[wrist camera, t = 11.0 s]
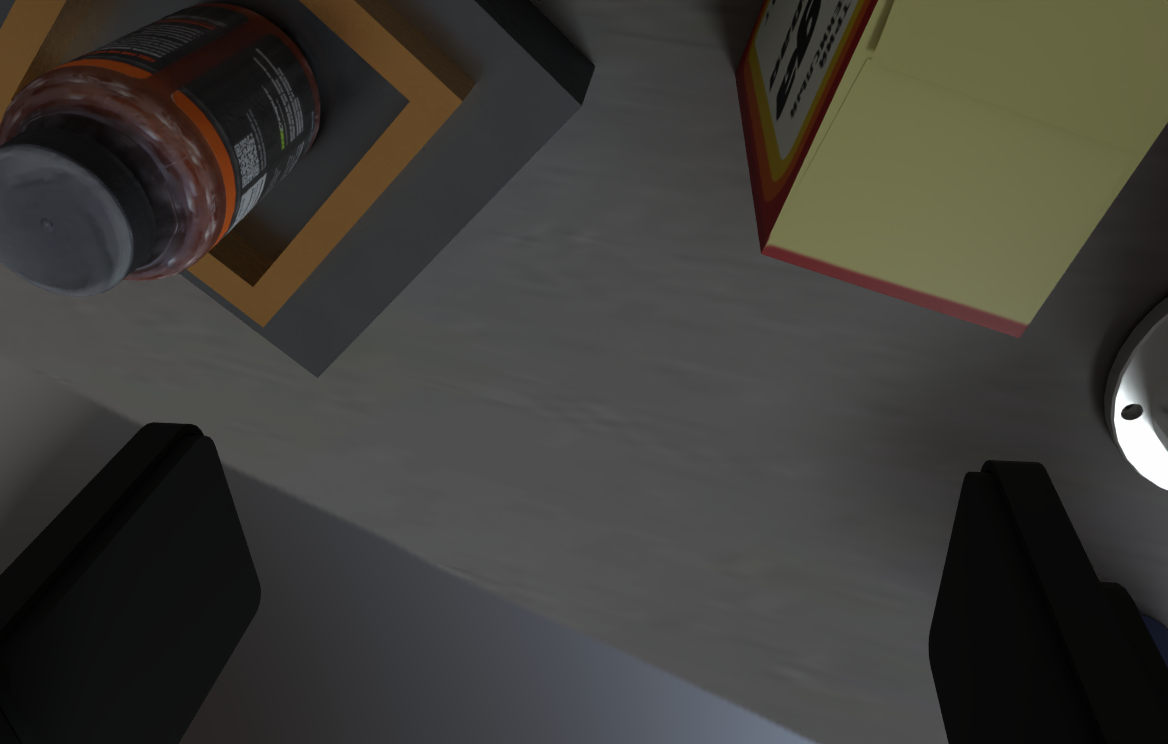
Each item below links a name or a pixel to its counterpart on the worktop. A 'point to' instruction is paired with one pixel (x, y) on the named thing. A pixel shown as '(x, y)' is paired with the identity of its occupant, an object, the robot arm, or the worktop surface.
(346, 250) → the grey orange open tray
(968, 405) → the worktop surface
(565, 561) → the worktop surface
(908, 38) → the baking soda box
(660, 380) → the worktop surface
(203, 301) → the worktop surface
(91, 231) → the supplement bottle
